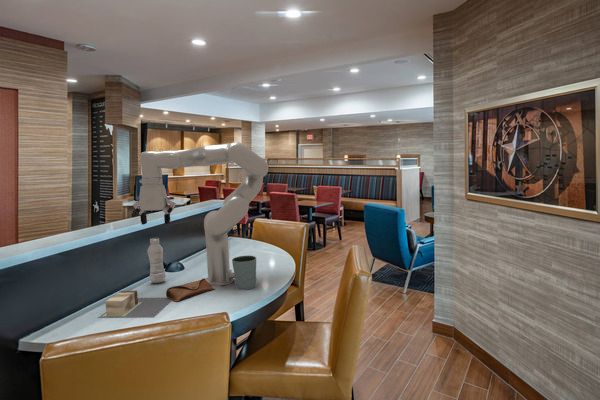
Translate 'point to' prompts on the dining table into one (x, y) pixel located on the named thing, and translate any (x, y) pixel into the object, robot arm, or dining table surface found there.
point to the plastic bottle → (156, 261)
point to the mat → (143, 308)
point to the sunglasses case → (188, 290)
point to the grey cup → (244, 272)
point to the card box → (121, 302)
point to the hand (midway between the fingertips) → (155, 223)
